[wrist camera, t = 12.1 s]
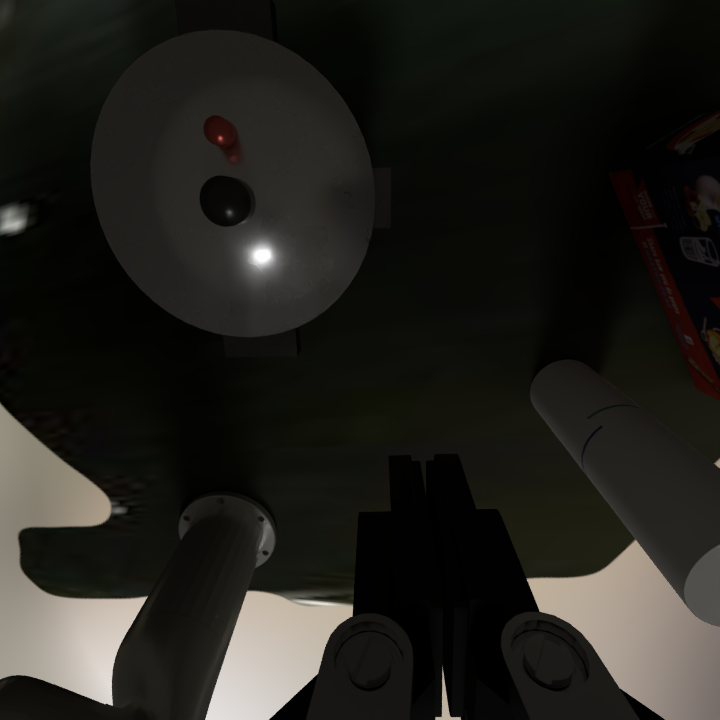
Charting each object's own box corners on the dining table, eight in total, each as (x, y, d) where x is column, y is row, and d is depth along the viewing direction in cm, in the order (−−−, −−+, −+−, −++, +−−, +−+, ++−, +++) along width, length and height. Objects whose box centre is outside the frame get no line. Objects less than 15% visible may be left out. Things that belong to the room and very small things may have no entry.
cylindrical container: (516, 398, 47) (655, 595, 23) (559, 347, 44) (760, 507, 21) (566, 428, 48) (747, 645, 24) (610, 380, 45) (857, 567, 22)
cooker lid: (376, 331, 32) (376, 344, 29) (133, 333, 33) (109, 347, 30) (373, 31, 25) (374, 8, 22) (69, 42, 26) (30, 21, 23)
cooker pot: (387, 321, 44) (390, 361, 33) (205, 322, 45) (147, 362, 34) (387, 49, 36) (392, -21, 25) (163, 58, 37) (69, -6, 25)
